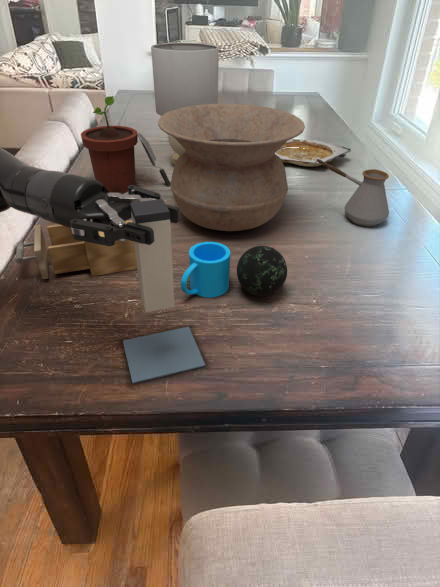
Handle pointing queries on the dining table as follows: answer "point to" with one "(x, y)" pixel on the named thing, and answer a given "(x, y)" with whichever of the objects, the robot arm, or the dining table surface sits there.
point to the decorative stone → (261, 270)
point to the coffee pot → (366, 197)
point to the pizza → (310, 152)
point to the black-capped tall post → (154, 255)
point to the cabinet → (111, 256)
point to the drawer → (56, 251)
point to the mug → (207, 270)
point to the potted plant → (115, 153)
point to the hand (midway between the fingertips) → (165, 226)
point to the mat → (162, 354)
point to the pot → (230, 163)
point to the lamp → (184, 79)
